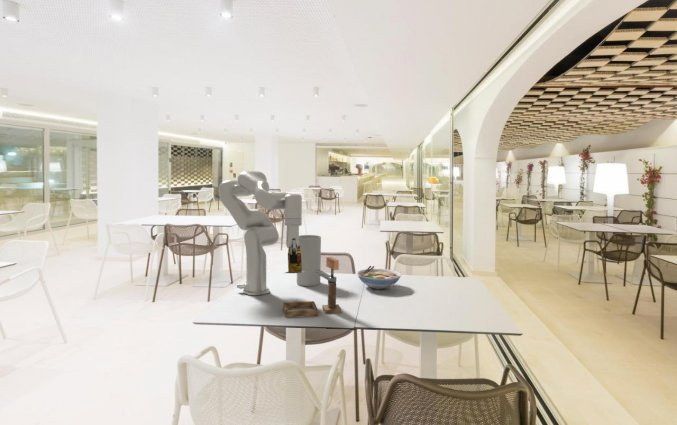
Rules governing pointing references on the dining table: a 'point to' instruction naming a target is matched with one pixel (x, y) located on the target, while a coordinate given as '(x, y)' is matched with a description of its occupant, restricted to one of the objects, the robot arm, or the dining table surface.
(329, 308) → the frame
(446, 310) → the dining table surface
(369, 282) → the ramen bowl
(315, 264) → the cylinder vase
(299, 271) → the condiment
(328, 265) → the t key
